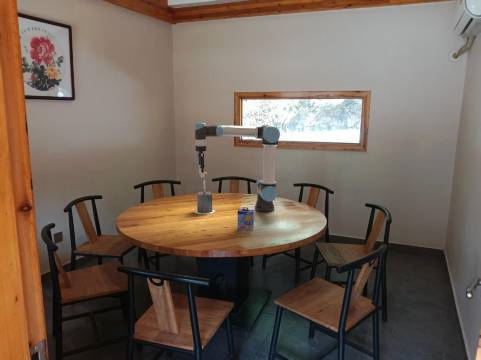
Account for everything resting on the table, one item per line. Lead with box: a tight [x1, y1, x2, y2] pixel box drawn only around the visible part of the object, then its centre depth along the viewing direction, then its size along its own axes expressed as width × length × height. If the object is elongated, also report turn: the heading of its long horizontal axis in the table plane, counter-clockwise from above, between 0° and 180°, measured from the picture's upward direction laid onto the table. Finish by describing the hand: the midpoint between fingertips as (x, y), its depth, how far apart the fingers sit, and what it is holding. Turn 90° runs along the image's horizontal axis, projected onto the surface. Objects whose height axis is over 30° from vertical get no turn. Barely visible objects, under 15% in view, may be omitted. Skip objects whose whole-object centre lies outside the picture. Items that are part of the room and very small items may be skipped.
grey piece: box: [196, 191, 213, 213], centre depth 276 cm, size 11×14×14 cm
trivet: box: [193, 208, 216, 215], centre depth 276 cm, size 16×16×1 cm
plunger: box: [202, 171, 208, 193], centre depth 272 cm, size 8×8×19 cm
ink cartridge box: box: [237, 206, 255, 231], centre depth 237 cm, size 10×6×14 cm, turn 78°
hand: (201, 175), depth 260 cm, fingers open, 13 cm apart
